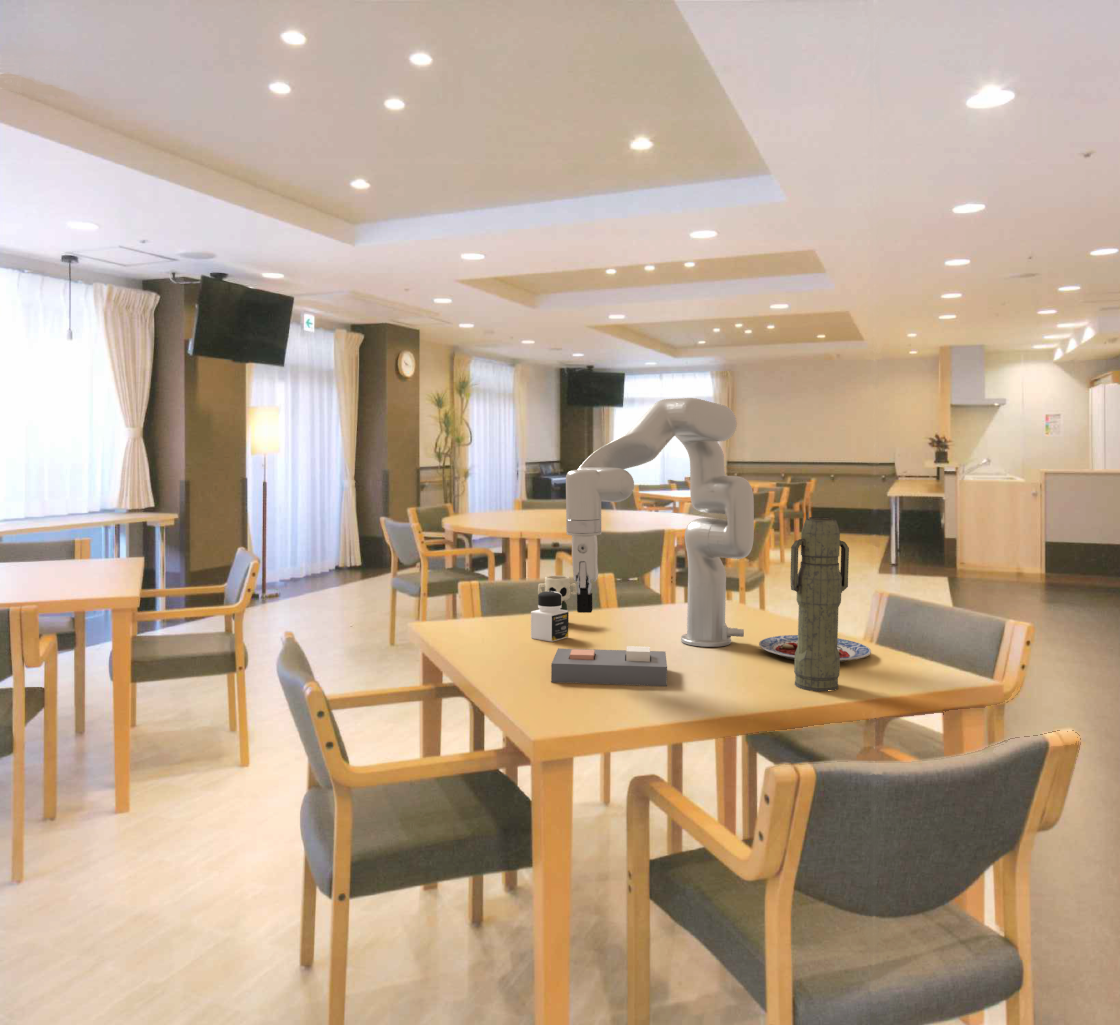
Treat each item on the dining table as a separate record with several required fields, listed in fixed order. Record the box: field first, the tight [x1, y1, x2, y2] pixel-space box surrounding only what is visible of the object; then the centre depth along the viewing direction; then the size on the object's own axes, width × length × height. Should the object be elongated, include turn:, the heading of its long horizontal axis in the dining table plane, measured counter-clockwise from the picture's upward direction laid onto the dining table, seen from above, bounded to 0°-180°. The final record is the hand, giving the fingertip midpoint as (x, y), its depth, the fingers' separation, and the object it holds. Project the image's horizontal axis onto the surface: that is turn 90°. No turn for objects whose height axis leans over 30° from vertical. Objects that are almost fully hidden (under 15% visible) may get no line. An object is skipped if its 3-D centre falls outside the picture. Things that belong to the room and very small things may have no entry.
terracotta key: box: [570, 648, 595, 660], centre depth 187 cm, size 5×5×3 cm
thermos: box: [790, 516, 850, 692], centre depth 178 cm, size 9×12×35 cm
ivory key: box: [626, 645, 651, 662], centre depth 185 cm, size 5×5×3 cm
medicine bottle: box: [530, 590, 569, 643], centre depth 223 cm, size 7×7×12 cm
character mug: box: [537, 575, 578, 611], centre depth 243 cm, size 11×7×13 cm, turn 93°
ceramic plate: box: [758, 634, 872, 663], centre depth 207 cm, size 26×26×3 cm
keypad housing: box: [550, 647, 668, 687], centre depth 186 cm, size 24×14×4 cm, turn 85°
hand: (584, 611), depth 186 cm, fingers closed
